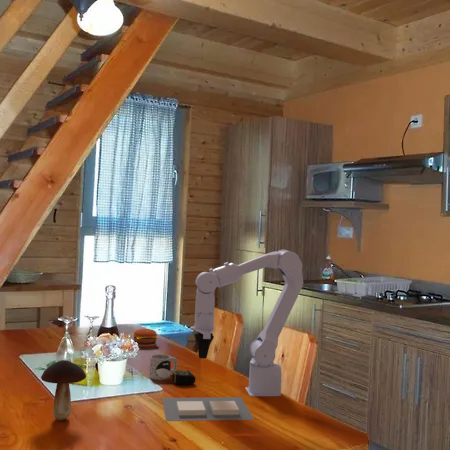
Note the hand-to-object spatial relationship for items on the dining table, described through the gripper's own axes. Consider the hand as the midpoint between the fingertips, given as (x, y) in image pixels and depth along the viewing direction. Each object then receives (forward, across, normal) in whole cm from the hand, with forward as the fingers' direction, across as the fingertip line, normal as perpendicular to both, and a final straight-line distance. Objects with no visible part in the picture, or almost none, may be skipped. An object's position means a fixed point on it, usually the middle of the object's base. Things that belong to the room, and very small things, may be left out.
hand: (202, 357), depth 172 cm
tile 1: (+9, +14, +4) cm, 17 cm away
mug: (+11, -17, -10) cm, 22 cm away
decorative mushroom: (+11, +21, -38) cm, 45 cm away
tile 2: (+9, +14, -5) cm, 17 cm away
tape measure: (+11, -9, -4) cm, 15 cm away
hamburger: (+11, -60, -15) cm, 63 cm away
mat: (+10, +15, 0) cm, 18 cm away
